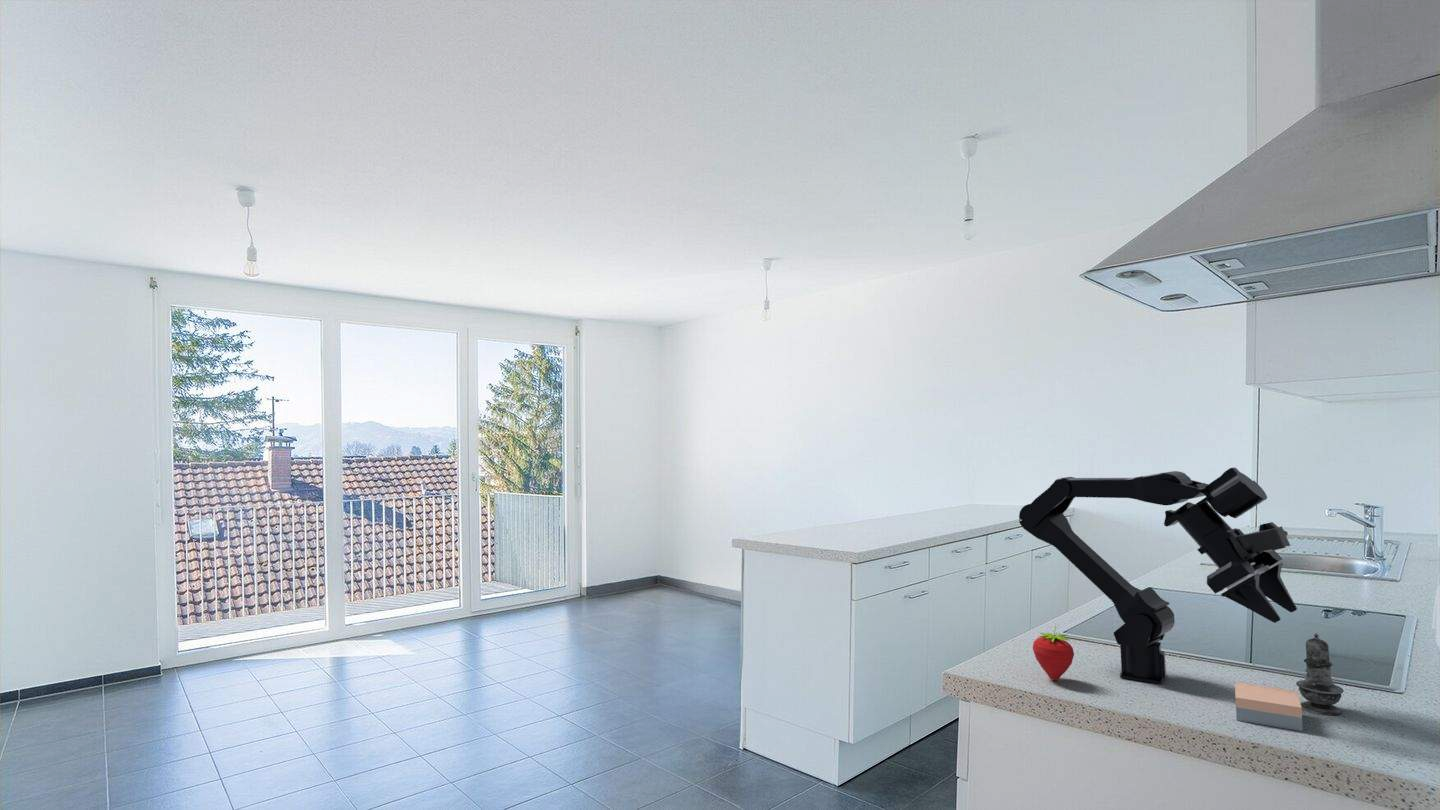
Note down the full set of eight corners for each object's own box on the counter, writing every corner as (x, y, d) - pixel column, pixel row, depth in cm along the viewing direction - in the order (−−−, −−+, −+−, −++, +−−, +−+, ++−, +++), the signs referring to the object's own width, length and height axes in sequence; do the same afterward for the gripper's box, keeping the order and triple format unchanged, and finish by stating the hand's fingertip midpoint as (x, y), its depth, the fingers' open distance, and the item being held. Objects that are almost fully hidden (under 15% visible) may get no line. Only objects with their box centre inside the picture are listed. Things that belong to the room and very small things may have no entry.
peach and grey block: (1236, 720, 112) (1235, 697, 112) (1236, 703, 118) (1235, 682, 118) (1302, 731, 107) (1301, 707, 107) (1298, 713, 113) (1297, 691, 114)
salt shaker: (1322, 701, 118) (1318, 627, 118) (1355, 715, 112) (1350, 637, 113) (1287, 703, 118) (1283, 628, 118) (1318, 717, 112) (1314, 639, 112)
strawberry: (1048, 671, 136) (1046, 618, 136) (1083, 683, 129) (1081, 627, 129) (1025, 676, 133) (1023, 622, 134) (1060, 689, 127) (1057, 632, 127)
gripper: (1235, 511, 113) (1319, 600, 105) (1271, 502, 124) (1349, 581, 116) (1176, 550, 119) (1250, 636, 111) (1215, 537, 131) (1285, 615, 123)
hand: (1286, 616), depth 115 cm, fingers open, 9 cm apart
